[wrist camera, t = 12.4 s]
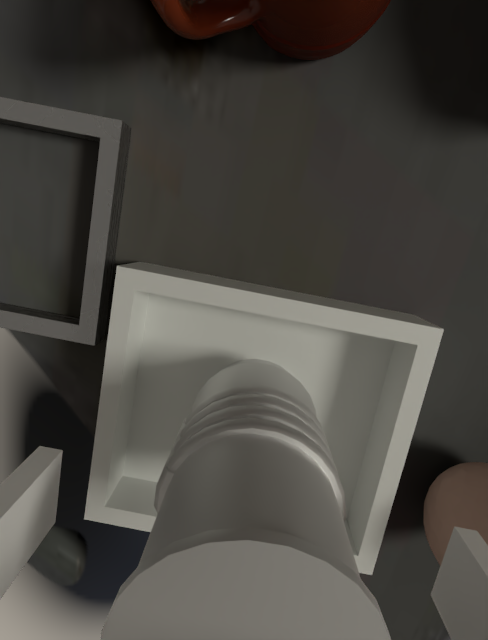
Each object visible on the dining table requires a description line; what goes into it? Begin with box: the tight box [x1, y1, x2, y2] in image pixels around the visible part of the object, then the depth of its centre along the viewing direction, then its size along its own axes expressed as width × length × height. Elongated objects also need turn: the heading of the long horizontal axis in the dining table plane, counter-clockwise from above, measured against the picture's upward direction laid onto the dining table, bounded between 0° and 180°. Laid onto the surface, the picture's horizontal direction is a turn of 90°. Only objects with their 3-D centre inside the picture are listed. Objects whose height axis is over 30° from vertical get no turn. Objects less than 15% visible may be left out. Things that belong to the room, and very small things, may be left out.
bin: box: [84, 262, 444, 575], centre depth 23 cm, size 14×16×4 cm
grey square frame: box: [0, 97, 131, 346], centre depth 23 cm, size 12×12×2 cm
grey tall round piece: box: [101, 359, 391, 640], centre depth 17 cm, size 7×7×15 cm
